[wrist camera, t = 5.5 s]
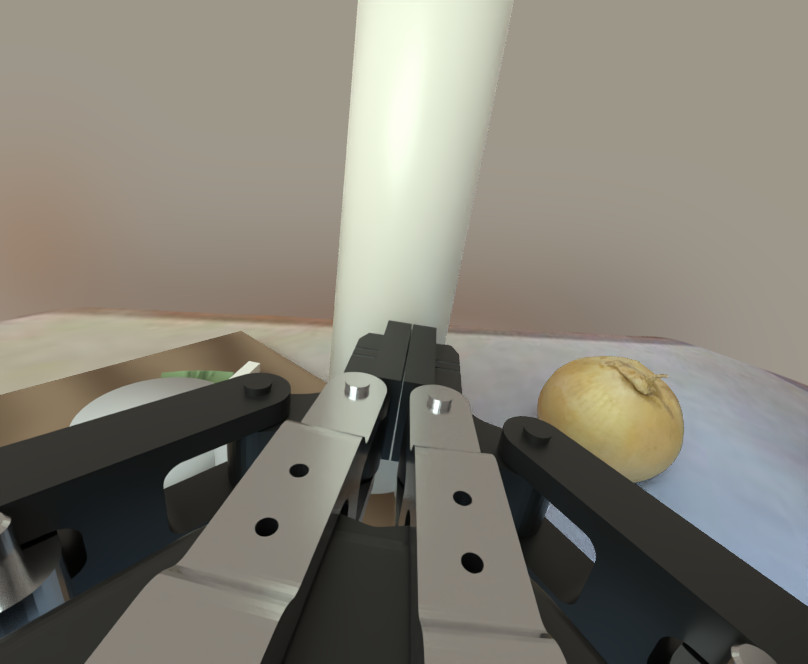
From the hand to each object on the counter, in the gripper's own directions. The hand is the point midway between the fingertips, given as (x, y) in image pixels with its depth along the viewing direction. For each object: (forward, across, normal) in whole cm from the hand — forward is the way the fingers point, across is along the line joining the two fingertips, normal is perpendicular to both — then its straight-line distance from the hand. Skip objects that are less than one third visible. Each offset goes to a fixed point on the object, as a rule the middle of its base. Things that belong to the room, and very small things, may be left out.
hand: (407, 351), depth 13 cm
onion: (+10, -12, +10) cm, 19 cm away
